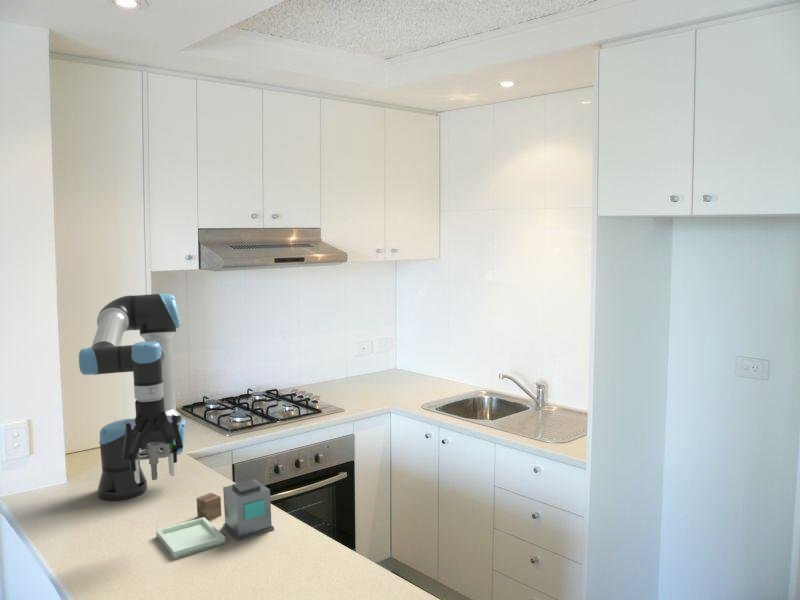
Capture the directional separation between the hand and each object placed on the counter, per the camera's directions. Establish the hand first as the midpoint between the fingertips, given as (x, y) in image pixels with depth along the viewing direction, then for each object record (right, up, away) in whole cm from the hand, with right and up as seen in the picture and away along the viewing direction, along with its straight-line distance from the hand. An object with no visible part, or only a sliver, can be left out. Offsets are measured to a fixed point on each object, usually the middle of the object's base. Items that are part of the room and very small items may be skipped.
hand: (154, 478), depth 196 cm
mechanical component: (0, -1, 0) cm, 0 cm away
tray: (+9, -18, +2) cm, 20 cm away
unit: (+24, -17, +8) cm, 31 cm away
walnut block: (+11, -16, +17) cm, 26 cm away
